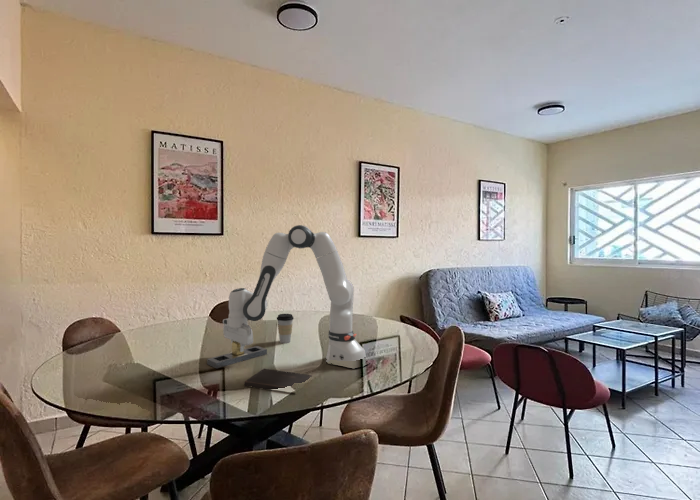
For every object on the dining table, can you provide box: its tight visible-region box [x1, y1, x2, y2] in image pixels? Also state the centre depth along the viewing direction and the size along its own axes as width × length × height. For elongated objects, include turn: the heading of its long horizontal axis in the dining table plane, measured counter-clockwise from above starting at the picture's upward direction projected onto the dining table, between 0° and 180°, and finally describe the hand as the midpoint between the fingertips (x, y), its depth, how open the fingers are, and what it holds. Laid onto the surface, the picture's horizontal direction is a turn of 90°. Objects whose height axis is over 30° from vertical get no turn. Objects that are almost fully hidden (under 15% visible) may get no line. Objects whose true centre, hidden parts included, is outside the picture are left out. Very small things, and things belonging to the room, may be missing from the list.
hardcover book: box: [243, 368, 313, 390], centre depth 167 cm, size 16×23×2 cm
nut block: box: [231, 341, 244, 356], centre depth 194 cm, size 4×4×7 cm
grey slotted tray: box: [206, 345, 268, 369], centre depth 195 cm, size 8×28×3 cm, turn 139°
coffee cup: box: [276, 313, 295, 344], centre depth 224 cm, size 9×9×15 cm
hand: (238, 350), depth 195 cm, fingers closed on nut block, 4 cm apart
